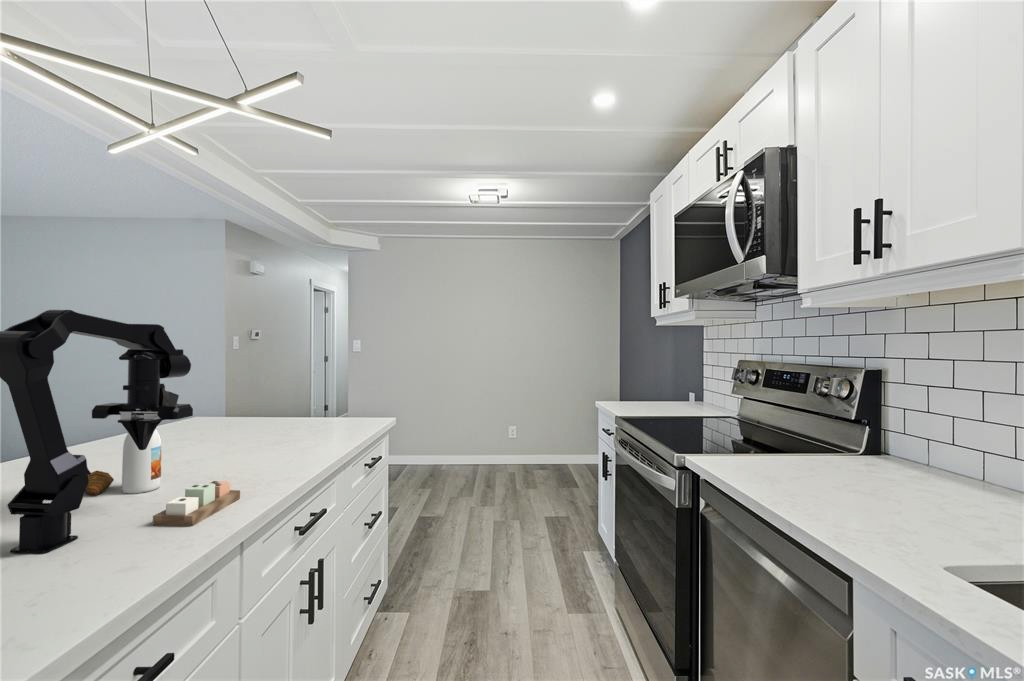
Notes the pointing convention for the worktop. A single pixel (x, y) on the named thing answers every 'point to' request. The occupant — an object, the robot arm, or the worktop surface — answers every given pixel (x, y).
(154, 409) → the robot arm
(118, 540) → the worktop surface
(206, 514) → the board
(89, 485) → the croissant
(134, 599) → the worktop surface
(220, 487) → the key three
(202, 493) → the key two
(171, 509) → the key one
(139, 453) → the milk bottle
